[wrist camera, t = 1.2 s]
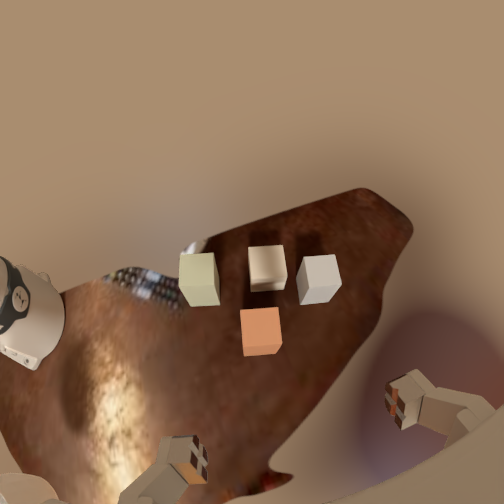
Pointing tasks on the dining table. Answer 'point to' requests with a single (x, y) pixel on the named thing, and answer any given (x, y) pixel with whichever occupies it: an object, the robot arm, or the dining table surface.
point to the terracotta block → (260, 331)
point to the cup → (24, 489)
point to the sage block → (199, 279)
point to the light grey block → (318, 279)
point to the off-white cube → (267, 268)
